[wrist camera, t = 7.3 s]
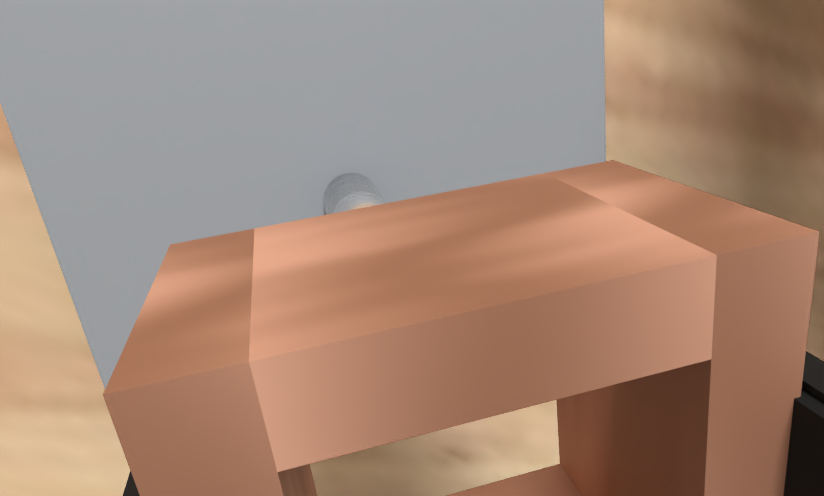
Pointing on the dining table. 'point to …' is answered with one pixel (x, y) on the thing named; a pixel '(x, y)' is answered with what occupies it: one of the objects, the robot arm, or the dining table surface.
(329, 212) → the hook post
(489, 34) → the hook board
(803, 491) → the robot arm
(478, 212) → the wooden loop
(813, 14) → the dining table surface
